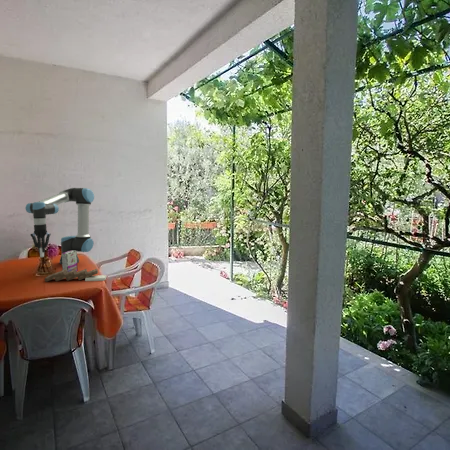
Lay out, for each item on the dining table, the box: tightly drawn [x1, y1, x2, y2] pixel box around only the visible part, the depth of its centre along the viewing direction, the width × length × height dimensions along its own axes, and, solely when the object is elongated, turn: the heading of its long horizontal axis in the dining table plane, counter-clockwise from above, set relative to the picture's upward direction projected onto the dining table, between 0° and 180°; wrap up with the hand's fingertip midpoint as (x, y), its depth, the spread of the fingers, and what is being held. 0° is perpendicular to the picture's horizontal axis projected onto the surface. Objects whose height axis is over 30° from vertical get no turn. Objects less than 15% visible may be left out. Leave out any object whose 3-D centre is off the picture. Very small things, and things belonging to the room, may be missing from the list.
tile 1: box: [44, 269, 67, 283], centre depth 221 cm, size 2×7×13 cm
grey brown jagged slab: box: [65, 268, 88, 282], centre depth 224 cm, size 2×7×13 cm
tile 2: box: [54, 269, 78, 282], centre depth 222 cm, size 2×7×13 cm
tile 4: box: [77, 268, 99, 281], centre depth 226 cm, size 2×7×13 cm
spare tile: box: [84, 274, 107, 282], centre depth 226 cm, size 2×7×13 cm
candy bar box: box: [61, 250, 79, 272], centre depth 240 cm, size 11×5×16 cm, turn 168°
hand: (42, 256), depth 223 cm, fingers closed
